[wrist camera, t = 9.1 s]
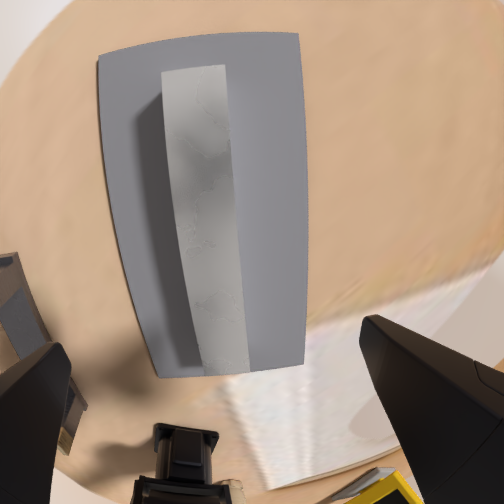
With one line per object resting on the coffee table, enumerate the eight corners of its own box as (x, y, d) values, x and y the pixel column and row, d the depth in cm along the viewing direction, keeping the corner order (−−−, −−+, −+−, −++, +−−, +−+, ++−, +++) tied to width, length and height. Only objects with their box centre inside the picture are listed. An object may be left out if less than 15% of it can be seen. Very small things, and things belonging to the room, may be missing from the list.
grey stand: (88, 405, 23) (71, 458, 17) (52, 400, 23) (32, 448, 16) (17, 252, 17) (-37, 296, 10) (-18, 257, 16) (-67, 296, 10)
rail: (246, 344, 21) (250, 372, 18) (206, 348, 21) (205, 376, 18) (224, 77, 14) (225, 64, 11) (171, 83, 14) (161, 72, 11)
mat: (302, 361, 23) (303, 364, 22) (159, 374, 22) (159, 378, 22) (296, 35, 14) (298, 33, 13) (101, 56, 13) (98, 55, 12)
